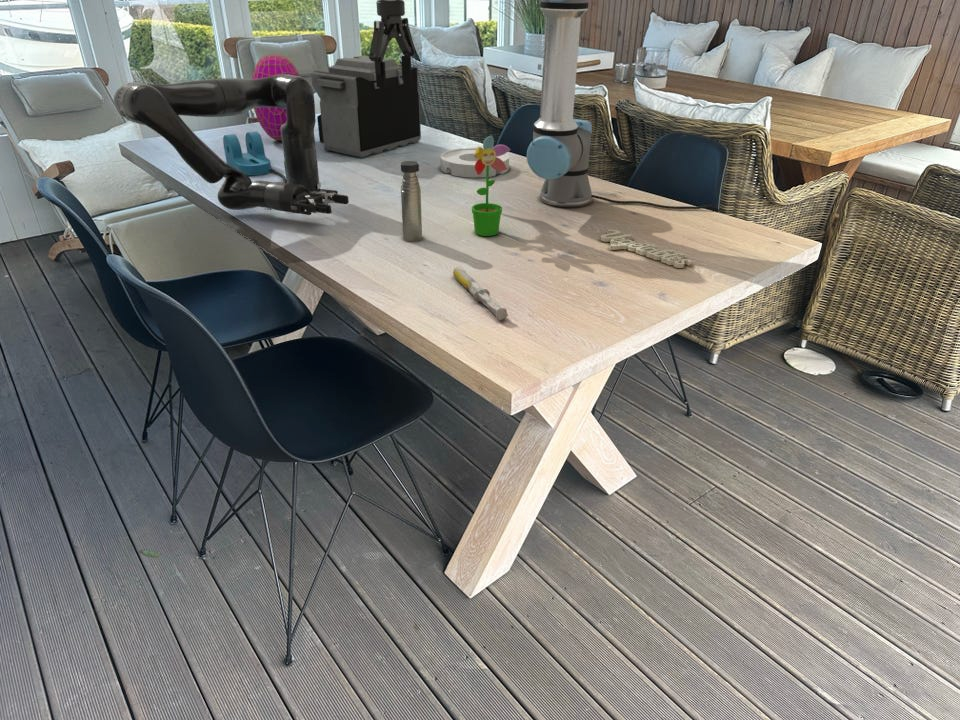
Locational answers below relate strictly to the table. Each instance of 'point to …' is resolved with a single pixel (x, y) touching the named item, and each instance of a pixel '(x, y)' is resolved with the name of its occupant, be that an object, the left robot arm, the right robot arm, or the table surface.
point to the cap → (409, 166)
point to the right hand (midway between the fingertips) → (394, 83)
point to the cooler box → (366, 107)
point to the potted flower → (487, 212)
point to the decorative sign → (644, 249)
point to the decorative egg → (271, 115)
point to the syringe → (479, 293)
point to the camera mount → (247, 154)
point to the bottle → (411, 207)
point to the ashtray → (467, 163)
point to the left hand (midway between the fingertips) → (339, 204)
